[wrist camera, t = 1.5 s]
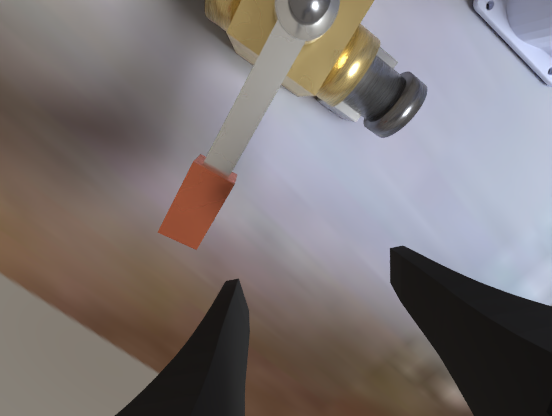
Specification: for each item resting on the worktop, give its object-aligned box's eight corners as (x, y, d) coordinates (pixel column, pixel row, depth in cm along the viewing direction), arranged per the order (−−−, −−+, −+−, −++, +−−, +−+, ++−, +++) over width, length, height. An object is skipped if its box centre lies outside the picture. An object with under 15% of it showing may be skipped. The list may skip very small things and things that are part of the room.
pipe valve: (401, 77, 18) (463, 69, 13) (358, 138, 20) (396, 154, 14) (115, -160, 13) (10, -349, 8) (86, -52, 15) (-19, -143, 9)
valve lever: (294, -41, 11) (301, -68, 9) (342, 1, 11) (358, -17, 10) (164, 216, 15) (152, 232, 13) (205, 236, 16) (198, 254, 14)
